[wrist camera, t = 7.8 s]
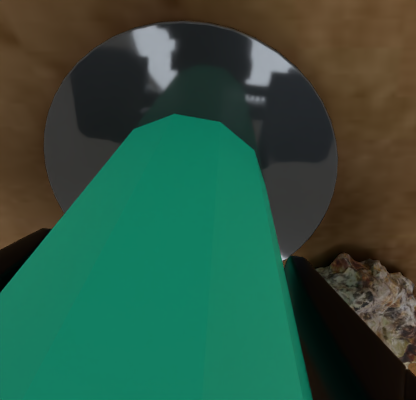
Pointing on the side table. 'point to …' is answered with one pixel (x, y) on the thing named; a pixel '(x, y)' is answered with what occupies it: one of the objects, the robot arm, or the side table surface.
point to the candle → (158, 282)
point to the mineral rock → (378, 301)
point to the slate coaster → (198, 113)
